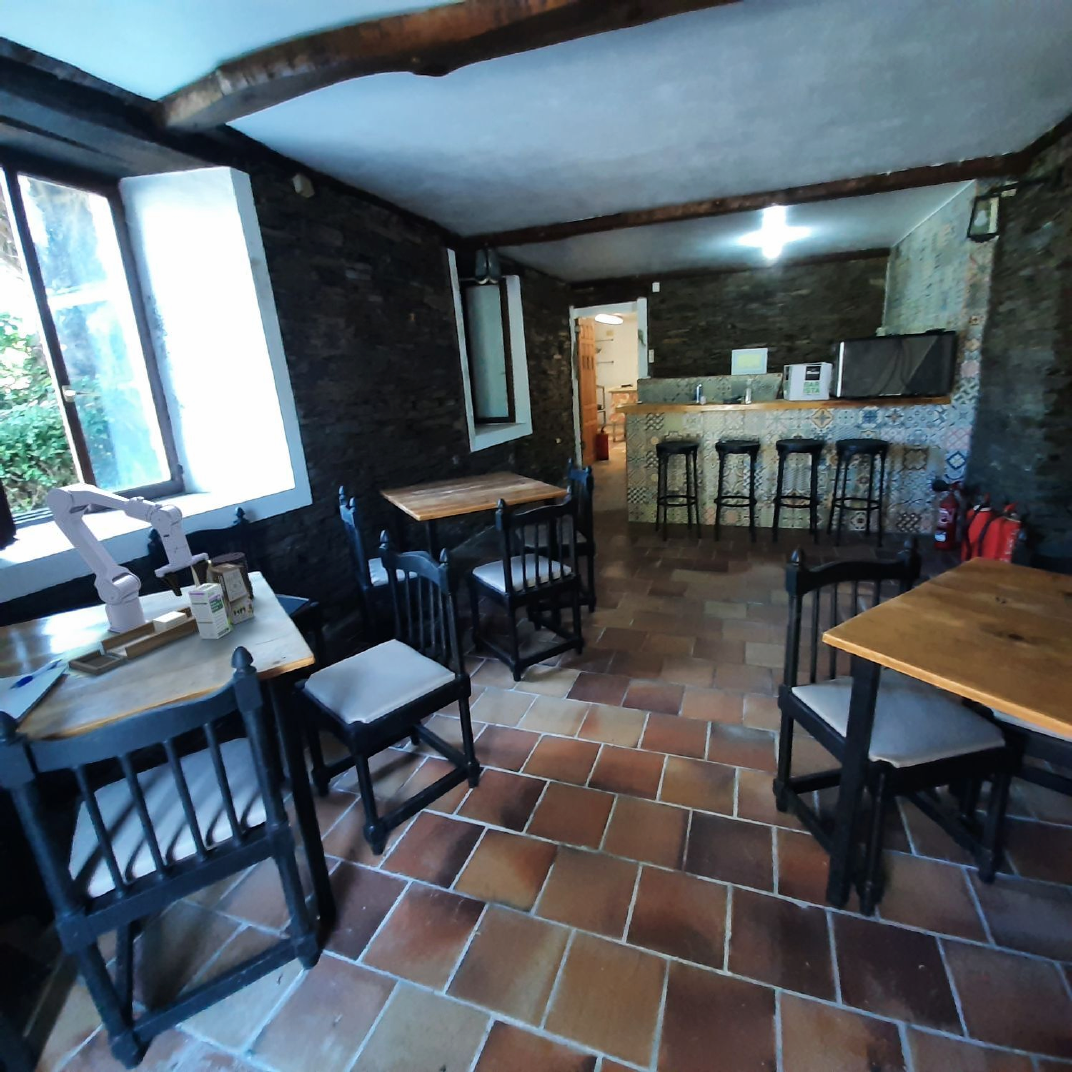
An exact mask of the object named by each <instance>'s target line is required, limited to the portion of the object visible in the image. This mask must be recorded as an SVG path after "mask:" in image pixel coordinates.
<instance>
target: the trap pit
mask: <svg viewBox="0 0 1072 1072" xmlns="http://www.w3.org/2000/svg"><path fill="white" fill-rule="evenodd" d="M125 663H128V659H126V657H125V656H123V657H118V658H115V657H111V656H108V655H104V654H102V652H101V650H100V649H99V648H98V649H95V650H93V651H90V652H88V653H85V654H84V655H83V654H82V655H81V656H79V657H76V658H74V659H70V660H69V661H67V665H68V666H69V668H71V669H75V670H78V671H81V672H85V673H88V674H91V675H94V676H100V675H102V674H105V673H106V672H108V671H111V670H113V669H115V668H118V667H119V666H122V665H124V664H125Z"/></svg>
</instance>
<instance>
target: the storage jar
mask: <svg viewBox="0 0 1072 1072" xmlns="http://www.w3.org/2000/svg"><path fill="white" fill-rule="evenodd" d="M245 555H246V554H245V553H243V552H238V551H237V552H229V553H225V554H224V553H223V554H220V555H218V556H217V555H216V556H215V557H212V558H210V560H211V563H212V568H214V567H216V566H219V565H222V564H225V563H228V564H234V565H239V566H243V569H244V573H245V578H246V582H247V586H248V591H249V595H250V599H251V601H253V599H255V595H254V591H253V590H254V589H253V585H252V581H251V580H250V577H249V576H250V575H249V566H248V563H247V560H246V556H245Z"/></svg>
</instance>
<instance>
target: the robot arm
mask: <svg viewBox="0 0 1072 1072" xmlns="http://www.w3.org/2000/svg"><path fill="white" fill-rule="evenodd" d="M45 497H46V498H45V501H44V504H45V505H46V506H47V508H48V509H49V510H50V511H51V514H52V517H53V520H54V522H55V524H56V526H57V527H58V529H59V530H60V532H62V533H63V535H64V536H65V538H67V539H68V541H69V543H70V544H72V546H73V548H74V549H75V550H76V552H77V553H79V555H80V557H82V560H84V562H86V563H87V565H88V566H89V567H90V569H91V570H92V572H93V573H94V575H96V578H95V581H94V584H93V586H94V587H95V588H96V589H97V593H98V596H99V598H100V599H101V600H102V602H105V606H104V607H105V608H104V611H105V614H106V617H107V621H108V624H109V627H107V628H106V629H107V631H110V632H111V631H112V632H116V633H118V634H120V633H122V632H125V631H127V630H130V629H132V628H135V627H137V626H140V625H142V624H145V623H147V622H150V621H151V620H148V619H146V618H145V617H146V616H145V614H144V610H143V606H142V604H141V603H142V602H141V600H140V597H139V594H140V593H139V590H140V589H141V587H142V583H141V580H140V578H139V577H138V575H135V574H134V573H132V572H131V571H130V570H129V568H127V567H125V566H121V565H118V564H117V563H116V561H115V560H114V559H113V557H112V556H111V555H110V553H109V552H108V551H107V550H106V549H105V548H104V547H105V546H103V544H102V543H101V542H100V541H99V540H98V538H97V537H96V536H95V535H94V533H93V532H92V530H91V529H90V527H88V525H87V524H86V523H85V521H84V520H83V518H84V514H85V511H86V510H87V509H88V507H90V505H91V504H95V505H99V506H101V507H102V506H103V507H105V508H111V509H114V510H119V511H123V512H124V514H125V515H126V517H129V518H132V519H135V520H139V521H143V522H146V523H149V524H150V526H152V527H153V528H155V529H156V530H157V533H158V535H159V536H160V538H161V542H162V545H163V548H164V550H165V553H166V556H167V559H168V563H169V564H166V565H164V566H162V567H160V568H158V569H155V570H154V573H155V575H156V577H157V578H159V579H160V580H161V581H163V582H164V584H166V585H167V586H168V588H169V589H170V590H171V591H172V592H173V594H174V595H175V597H182V596H183V592H182V589H181V586H180V584H179V575H178V574H176V573H175V572H177V571H180V570H183V569H184V568H188V567H191V566H192V567H193V569H194V571H195V573H196V575H197V578H198V581H199V583H200V585H202V584H207V569H208V566H209V562H208V560H210V559H209V555H208V553H206V552H202V553H200V554H196V555H193V554H192V552H191V549H190V546H189V543H188V540H187V538H186V535H185V531H184V529H183V528H184V527H183V526H182V523H181V521H182V520H183V513H182V510H181V509H180V508H179V507H177V506H176V505H174V504H170V503H168V504H166V505H163V504H162V503H160V502H157V503H156V502H152V501H149V500H145V497H143V496H137V497H132V498H129V499H128V498H126V497H123V496H119V495H117V494H114V493H111V492H109V491H105V490H103V489H100V488H97V487H96V486H95V485H92V484H87V483H85V482H75V483H73V484H70V485H66V486H62V487H56V488H55V487H54V488H52V489H50V490H49V491H48V492H47V494H46V496H45Z"/></svg>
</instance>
